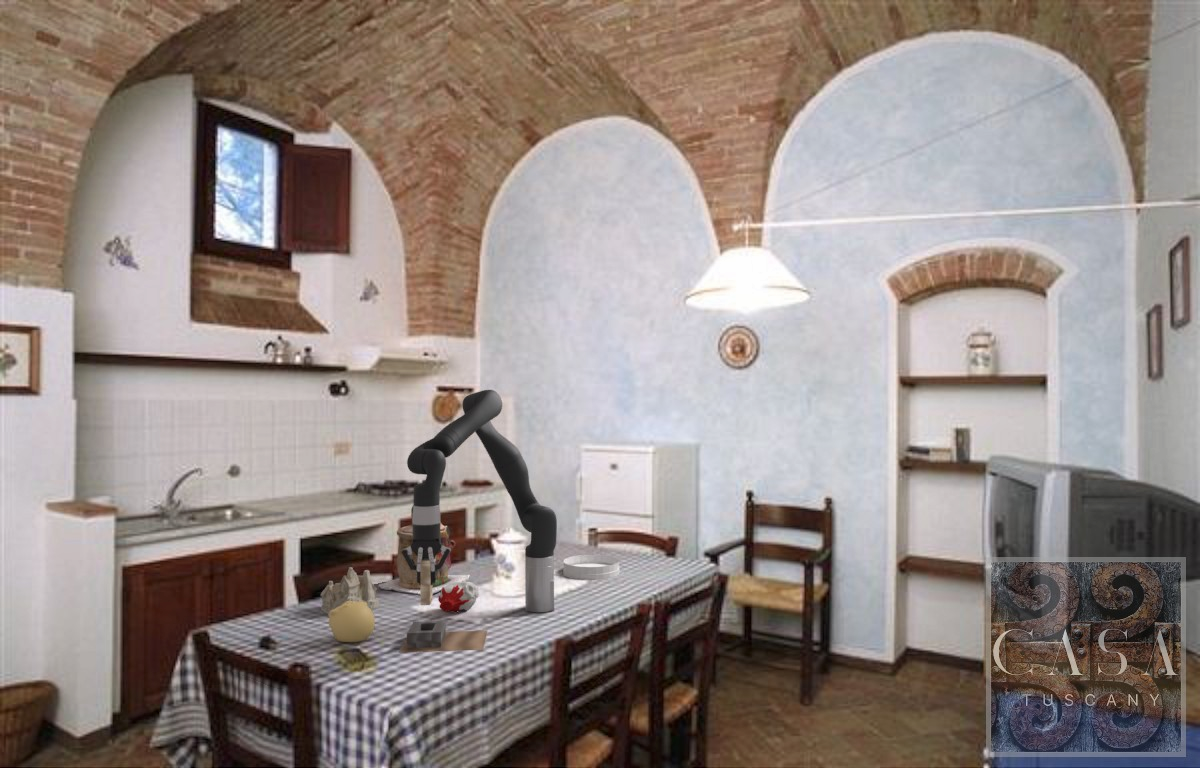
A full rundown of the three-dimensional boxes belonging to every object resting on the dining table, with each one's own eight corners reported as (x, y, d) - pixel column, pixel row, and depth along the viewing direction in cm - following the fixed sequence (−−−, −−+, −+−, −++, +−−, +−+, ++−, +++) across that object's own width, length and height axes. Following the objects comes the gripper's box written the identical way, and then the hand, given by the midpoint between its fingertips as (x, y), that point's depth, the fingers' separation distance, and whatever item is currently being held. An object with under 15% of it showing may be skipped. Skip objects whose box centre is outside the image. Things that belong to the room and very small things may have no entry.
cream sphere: (358, 630, 218) (358, 593, 218) (382, 638, 210) (382, 600, 211) (322, 640, 209) (322, 602, 209) (346, 649, 201) (346, 609, 202)
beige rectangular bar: (432, 600, 206) (432, 556, 206) (429, 605, 201) (429, 560, 201) (423, 600, 206) (423, 557, 206) (420, 605, 201) (420, 560, 201)
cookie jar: (375, 590, 264) (375, 500, 265) (418, 574, 287) (418, 492, 287) (432, 597, 254) (431, 504, 255) (472, 580, 277) (471, 495, 277)
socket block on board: (487, 635, 212) (487, 616, 212) (483, 655, 196) (483, 634, 196) (409, 638, 211) (409, 618, 211) (399, 658, 195) (399, 637, 195)
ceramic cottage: (386, 606, 242) (382, 560, 242) (340, 620, 229) (336, 572, 230) (360, 601, 252) (357, 557, 253) (315, 614, 240) (311, 567, 240)
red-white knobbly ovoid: (480, 603, 243) (463, 623, 229) (448, 601, 246) (429, 620, 231) (479, 577, 242) (462, 595, 228) (447, 575, 245) (428, 592, 230)
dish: (554, 570, 293) (554, 557, 293) (604, 564, 302) (604, 552, 302) (576, 583, 273) (576, 569, 273) (629, 576, 282) (629, 563, 282)
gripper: (453, 518, 208) (453, 580, 208) (403, 519, 207) (403, 581, 207) (450, 523, 201) (450, 587, 200) (398, 524, 199) (398, 588, 199)
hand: (426, 584), depth 203 cm, fingers closed on beige rectangular bar, 2 cm apart
